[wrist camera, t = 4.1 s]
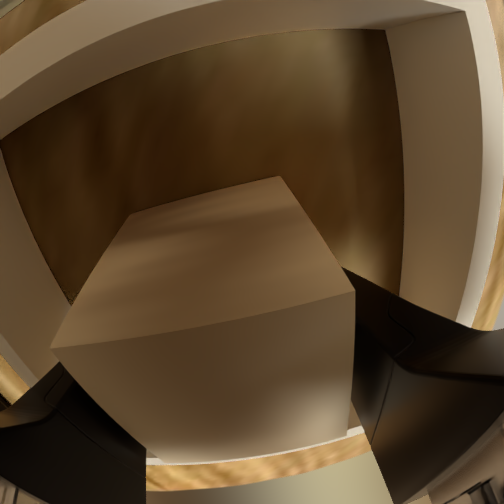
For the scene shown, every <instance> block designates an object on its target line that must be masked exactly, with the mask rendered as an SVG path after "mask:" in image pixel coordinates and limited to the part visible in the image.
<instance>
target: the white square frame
mask: <svg viewBox="0 0 504 504" xmlns="http://www.w3.org/2000/svg"><path fill="white" fill-rule="evenodd" d="M321 29H380V30H385V32H386V36H387V40H388V45H389V50H390V55H391V60H392V65H393V71H394V77H395V83H396V90H397V97H398V105H399V113H400V123H401V134H402V147H403V164H404V239H403V257H402V270H401V281H400V291H399V297H401V298H403V299H405V300H407V301H409V302H411V303H413V304H415V305H417V306H420V307H422V308H424V309H427V310H429V311H431V312H433V313H436V314H438V315H441V316H443V317H446V318H448V319H450V320H453V321H455V322H458V323H460V324H463V325H465V326H467V327H470V328H471V326H472V323H473V320H474V317H475V314H476V311H477V308H478V305H479V302H480V299H481V295H482V292H483V289H484V285H485V281H486V278H487V274H488V270H489V266H490V262H491V257H492V253H493V248H494V243H495V238H496V232H497V227H498V220H499V214H500V206H501V198H502V189H503V177H504V98H503V87H502V78H501V70H500V63H499V57H498V51H497V46H496V41H495V36H494V32H493V27H492V23H491V19H490V15H489V12H488V8H487V5H486V1H485V0H86V1H84V2H82V3H80V4H78V5H76V6H74V7H73V8H71V9H69V10H67V11H65V12H63V13H62V14H60V15H58V16H57V17H55V18H53V19H52V20H50V21H48V22H47V23H45V24H43V25H42V26H40V27H39V28H37V29H36V30H34V31H33V32H31V33H30V34H28V35H27V36H25V37H24V38H23V39H21V40H20V41H18V42H17V43H16V44H14V45H13V46H12V47H10V48H9V49H8V50H6V51H5V52H4V53H3V54H1V55H0V140H1V139H2V138H4V137H5V136H6V135H8V134H9V133H11V132H12V131H14V130H15V129H17V128H18V127H20V126H21V125H23V124H24V123H26V122H27V121H29V120H31V119H32V118H34V117H36V116H37V115H39V114H41V113H42V112H44V111H46V110H47V109H49V108H51V107H53V106H54V105H56V104H58V103H60V102H62V101H64V100H65V99H67V98H69V97H71V96H73V95H75V94H77V93H79V92H81V91H83V90H85V89H87V88H89V87H92V86H94V85H96V84H98V83H100V82H103V81H105V80H107V79H110V78H112V77H114V76H117V75H119V74H122V73H124V72H127V71H129V70H132V69H134V68H137V67H140V66H143V65H145V64H148V63H151V62H154V61H157V60H160V59H163V58H166V57H169V56H173V55H176V54H179V53H183V52H186V51H190V50H194V49H198V48H201V47H205V46H210V45H214V44H218V43H223V42H228V41H232V40H238V39H243V38H249V37H255V36H261V35H268V34H276V33H284V32H293V31H305V30H321ZM70 308H71V305H70V304H69V302H68V300H67V299H66V297H65V295H64V294H63V292H62V290H61V289H60V287H59V285H58V283H57V281H56V280H55V278H54V276H53V274H52V272H51V271H50V269H49V267H48V265H47V263H46V261H45V259H44V257H43V255H42V253H41V251H40V249H39V247H38V245H37V243H36V241H35V239H34V237H33V234H32V232H31V230H30V228H29V226H28V223H27V221H26V219H25V216H24V214H23V212H22V209H21V207H20V204H19V202H18V199H17V196H16V194H15V191H14V189H13V186H12V183H11V180H10V177H9V174H8V171H7V168H6V165H5V162H4V159H3V156H2V152H1V149H0V354H1V355H2V356H3V357H4V359H5V360H6V361H7V362H8V364H9V365H10V366H11V367H12V368H13V369H14V371H15V372H16V373H17V374H18V375H19V376H20V377H21V378H22V380H23V381H24V382H25V383H26V384H27V385H28V386H29V387H30V388H31V387H33V386H34V385H35V384H36V383H37V382H38V381H39V380H40V379H41V378H42V377H43V376H45V375H46V374H47V373H48V372H49V371H50V370H51V369H52V368H53V367H54V366H55V365H56V364H57V363H58V362H59V360H58V359H57V357H56V356H55V355H54V353H53V352H52V351H51V350H50V346H51V344H52V342H53V340H54V338H55V336H56V334H57V332H58V330H59V328H60V327H61V325H62V323H63V321H64V319H65V317H66V315H67V314H68V312H69V310H70ZM362 433H365V432H364V429H363V427H362V425H361V422H360V420H359V418H358V415H357V413H356V411H355V408H354V406H353V404H352V401H350V411H349V420H348V429H347V436H344V437H341V438H338V439H334V440H330V441H327V442H323V443H319V444H315V445H311V446H307V447H302V448H298V449H293V450H288V451H283V452H278V453H272V454H266V455H260V456H253V457H246V458H238V459H230V460H219V461H207V462H190V463H164V462H163V461H162V460H160V459H159V458H158V457H156V456H155V455H154V454H153V453H151V452H150V451H149V450H148V449H147V452H146V465H191V464H209V463H221V462H231V461H240V460H248V459H255V458H261V457H268V456H273V455H279V454H284V453H289V452H294V451H299V450H303V449H308V448H312V447H316V446H320V445H324V444H328V443H332V442H335V441H339V440H342V439H346V438H349V437H352V436H355V435H358V434H362Z"/></svg>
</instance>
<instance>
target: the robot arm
mask: <svg viewBox="0 0 504 504" xmlns="http://www.w3.org/2000/svg"><path fill="white" fill-rule="evenodd" d="M341 268H342V269H343V271H344V273H345V274H346V276H347V278H348V279H349V281H350V282H351V284H352V286H353V287H354V289H355V340H354V361H353V377H352V390H351V401H352V404H353V406H354V408H355V411H356V413H357V415H358V418H359V420H360V422H361V425H362V427H363V429H364V432H365V434H366V437H367V439H368V441H369V444H370V445H371V449H372V451H373V454H374V456H375V458H376V461H377V463H378V466H379V468H380V471H381V473H382V476H383V478H384V481H385V483H386V486H387V488H388V491H389V493H390V496H391V498H392V501H393V503H394V504H407V503H410V502H412V501H414V500H417V499H419V498H421V497H423V496H425V495H427V494H428V495H429V498H430V501H431V503H432V504H504V329H499V330H494V331H481V330H476V329H473V328H470V327H467V326H465V325H463V324H460V323H458V322H455V321H453V320H450V319H448V318H446V317H443V316H441V315H438V314H436V313H433V312H431V311H429V310H427V309H424V308H422V307H420V306H417V305H415V304H413V303H411V302H409V301H407V300H405V299H403V298H401V297H399V296H397V295H396V294H394V293H392V294H391V292H390V291H388V290H386V289H384V288H382V287H380V286H378V285H376V284H374V283H372V282H370V281H368V280H367V279H365V278H363V277H361V276H359V275H357V274H355V273H353V272H351V271H349V270H347V269H345V268H343V267H341ZM146 452H147V449H146V448H145V447H144V446H143V445H142V444H140V443H139V442H138V441H137V440H136V439H135V438H133V437H132V436H131V435H130V434H129V433H128V432H127V431H126V430H124V429H123V428H122V427H121V426H120V425H119V424H118V423H117V422H116V421H115V420H114V419H113V418H112V417H110V416H109V415H108V414H107V413H106V412H105V411H104V410H103V409H102V408H101V407H100V406H99V405H98V404H97V403H96V402H95V401H94V400H93V398H92V397H91V396H90V395H89V394H88V393H87V392H86V391H85V390H84V389H83V388H82V387H81V386H80V384H79V383H78V382H77V381H76V380H75V379H74V378H73V377H72V375H71V374H70V373H69V372H68V371H67V369H66V368H65V367H64V366H63V365H62V363H61V362H60V361H59V362H58V363H57V364H56V365H55V366H54V367H53V368H52V369H51V370H50V371H49V372H48V373H47V374H46V375H45V376H43V377H42V378H41V379H40V380H39V381H38V382H37V383H36V384H35V385H34V386H33V387H31V388H30V389H29V390H28V391H27V392H26V393H25V394H24V395H23V396H22V397H20V398H19V399H18V400H17V401H16V402H15V403H14V404H13V405H12V406H9V405H8V404H7V403H6V402H5V401H4V400H3V399H2V398H1V397H0V504H146V478H145V477H146Z"/></svg>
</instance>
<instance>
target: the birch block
mask: <svg viewBox="0 0 504 504" xmlns="http://www.w3.org/2000/svg"><path fill="white" fill-rule="evenodd" d="M354 340H355V289H354V287H353V286H352V284H351V282H350V281H349V279H348V278H347V276H346V274H345V273H344V271H343V269H342V268H341V266H340V265H339V263H338V261H337V260H336V258H335V257H334V255H333V254H332V252H331V250H330V249H329V247H328V246H327V244H326V243H325V241H324V240H323V238H322V237H321V235H320V233H319V232H318V230H317V229H316V227H315V226H314V224H313V223H312V221H311V220H310V218H309V217H308V215H307V214H306V212H305V211H304V209H303V208H302V207H301V205H300V204H299V202H298V201H297V199H296V198H295V196H294V195H293V193H292V192H291V191H290V189H289V188H288V186H287V185H286V183H285V182H284V181H283V179H282V178H281V176H276V177H271V178H267V179H262V180H258V181H253V182H249V183H245V184H240V185H236V186H232V187H228V188H224V189H220V190H216V191H212V192H208V193H204V194H200V195H196V196H192V197H188V198H185V199H181V200H177V201H174V202H170V203H166V204H163V205H159V206H156V207H152V208H149V209H146V210H142V211H139V212H136V213H132V214H130V215H129V217H128V218H127V220H126V221H125V222H124V224H123V225H122V227H121V228H120V230H119V231H118V233H117V234H116V235H115V237H114V238H113V240H112V241H111V243H110V244H109V246H108V247H107V249H106V250H105V252H104V253H103V255H102V257H101V258H100V260H99V261H98V263H97V264H96V266H95V268H94V269H93V271H92V272H91V274H90V276H89V277H88V279H87V281H86V282H85V284H84V286H83V287H82V289H81V291H80V292H79V294H78V296H77V298H76V299H75V301H74V303H73V305H72V306H71V308H70V310H69V312H68V314H67V315H66V317H65V319H64V321H63V323H62V325H61V327H60V328H59V330H58V332H57V334H56V336H55V338H54V340H53V342H52V344H51V346H50V350H51V351H52V352H53V353H54V355H55V356H56V357H57V359H58V360H59V361H60V362H61V363H62V365H63V366H64V367H65V368H66V369H67V371H68V372H69V373H70V374H71V375H72V377H73V378H74V379H75V380H76V381H77V382H78V383H79V384H80V386H81V387H82V388H83V389H84V390H85V391H86V392H87V393H88V394H89V395H90V396H91V397H92V398H93V400H94V401H95V402H96V403H97V404H98V405H99V406H100V407H101V408H102V409H103V410H104V411H105V412H106V413H107V414H108V415H109V416H110V417H112V418H113V419H114V420H115V421H116V422H117V423H118V424H119V425H120V426H121V427H122V428H123V429H124V430H126V431H127V432H128V433H129V434H130V435H131V436H132V437H133V438H135V439H136V440H137V441H138V442H139V443H140V444H142V445H143V446H144V447H145V448H146V449H148V450H149V451H150V452H151V453H153V454H154V455H155V456H156V457H158V458H159V459H160V460H162V461H163V462H164V463H190V462H207V461H219V460H230V459H238V458H246V457H253V456H260V455H266V454H272V453H278V452H283V451H288V450H293V449H298V448H302V447H307V446H311V445H315V444H319V443H323V442H327V441H330V440H334V439H338V438H341V437H344V436H347V429H348V420H349V411H350V401H351V390H352V377H353V361H354Z"/></svg>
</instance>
